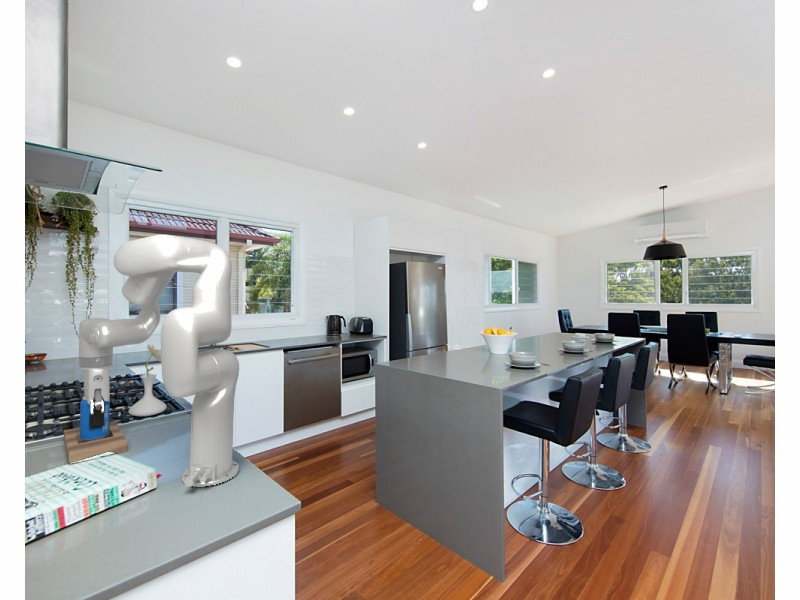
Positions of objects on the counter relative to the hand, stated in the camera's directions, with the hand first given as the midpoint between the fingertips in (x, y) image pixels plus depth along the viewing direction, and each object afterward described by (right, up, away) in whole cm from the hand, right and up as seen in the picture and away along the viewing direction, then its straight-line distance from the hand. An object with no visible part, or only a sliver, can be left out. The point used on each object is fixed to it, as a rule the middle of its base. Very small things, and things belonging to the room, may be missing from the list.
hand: (94, 423), depth 105 cm
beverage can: (0, -4, 0) cm, 4 cm away
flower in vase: (-4, -6, +28) cm, 29 cm away
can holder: (0, -7, 0) cm, 7 cm away
